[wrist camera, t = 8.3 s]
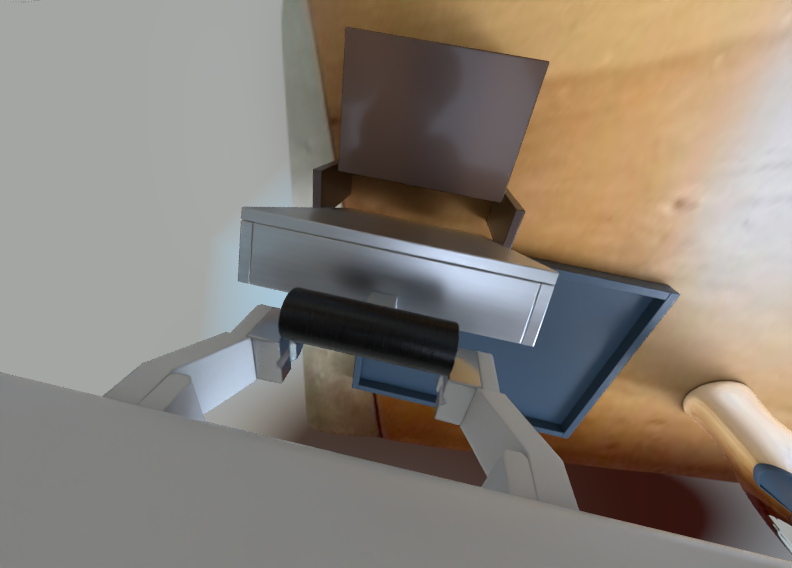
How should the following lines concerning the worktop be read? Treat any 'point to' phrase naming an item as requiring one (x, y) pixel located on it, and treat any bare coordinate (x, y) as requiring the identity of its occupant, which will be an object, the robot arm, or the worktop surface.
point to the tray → (551, 349)
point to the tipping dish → (390, 284)
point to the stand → (432, 121)
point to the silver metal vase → (749, 448)
